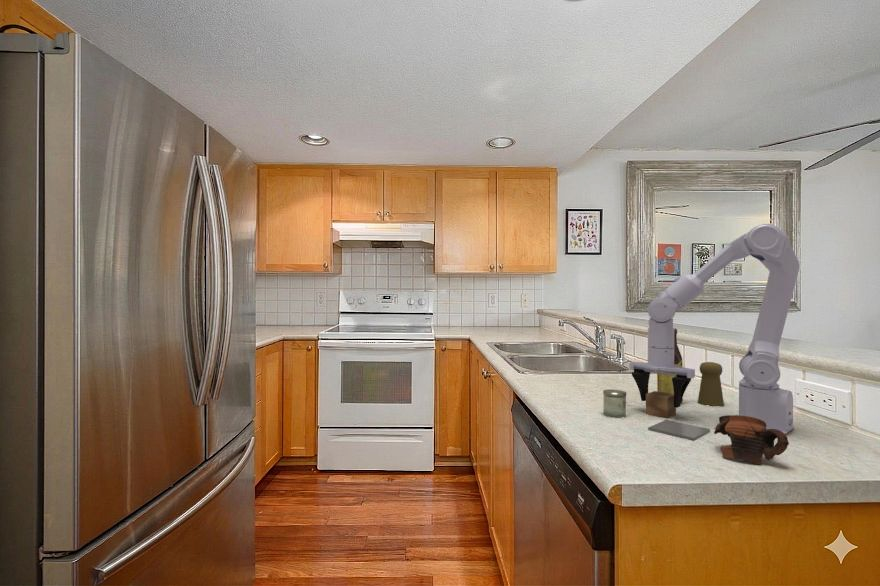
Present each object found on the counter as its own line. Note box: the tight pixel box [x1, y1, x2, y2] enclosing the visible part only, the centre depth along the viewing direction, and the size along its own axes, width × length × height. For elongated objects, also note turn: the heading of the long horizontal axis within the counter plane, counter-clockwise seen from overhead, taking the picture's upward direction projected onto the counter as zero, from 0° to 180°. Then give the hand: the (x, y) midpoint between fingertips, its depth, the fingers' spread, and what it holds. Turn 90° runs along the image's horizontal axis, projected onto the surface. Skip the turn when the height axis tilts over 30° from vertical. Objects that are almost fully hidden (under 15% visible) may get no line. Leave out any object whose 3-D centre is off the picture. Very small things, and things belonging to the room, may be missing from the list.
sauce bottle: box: [656, 327, 684, 404], centre depth 119 cm, size 7×6×20 cm
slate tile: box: [647, 419, 711, 441], centre depth 93 cm, size 9×9×1 cm
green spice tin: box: [602, 388, 627, 419], centre depth 106 cm, size 5×5×6 cm
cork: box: [697, 361, 725, 407], centre depth 117 cm, size 6×6×11 cm
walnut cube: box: [645, 390, 677, 420], centre depth 106 cm, size 5×5×5 cm
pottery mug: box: [713, 414, 790, 466], centre depth 79 cm, size 12×10×8 cm
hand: (660, 403), depth 106 cm, fingers open, 7 cm apart
